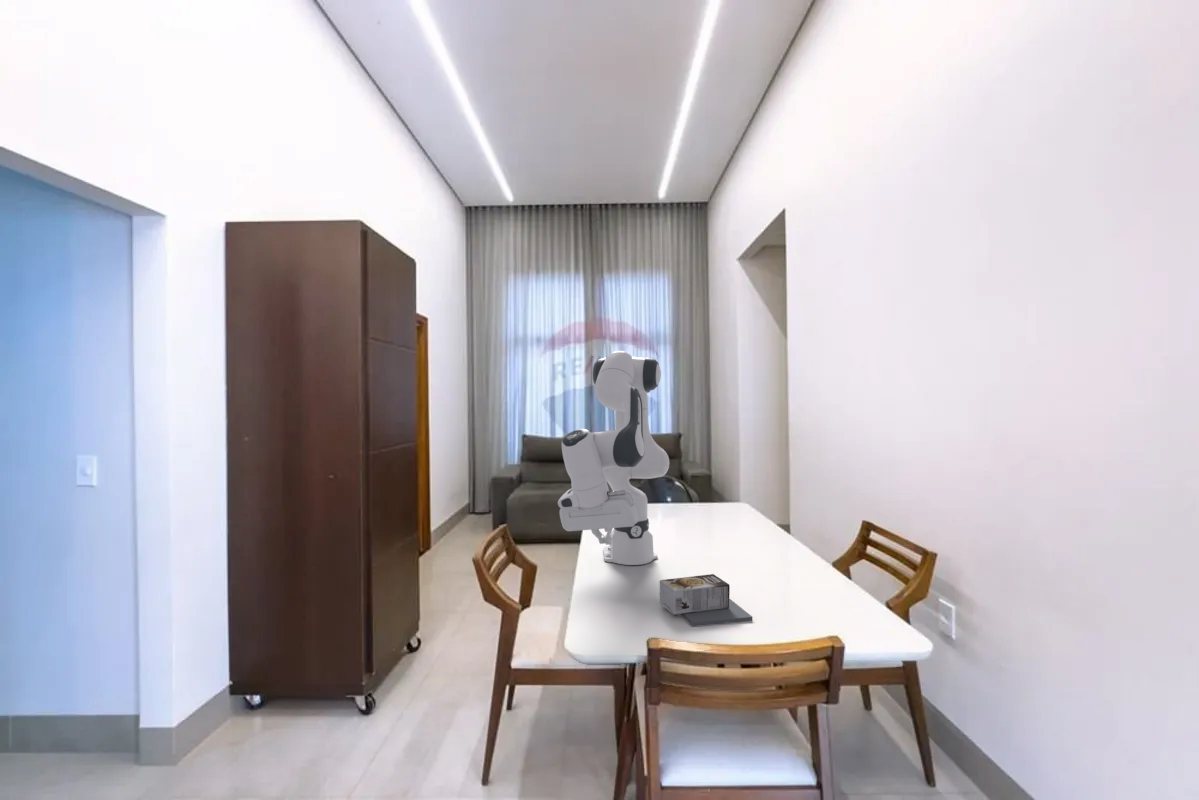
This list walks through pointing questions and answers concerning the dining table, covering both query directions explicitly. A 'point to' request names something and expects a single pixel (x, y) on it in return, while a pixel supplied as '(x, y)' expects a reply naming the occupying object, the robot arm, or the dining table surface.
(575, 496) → the robot arm
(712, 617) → the mat
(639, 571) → the dining table surface
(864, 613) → the dining table surface
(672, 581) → the coffee box
